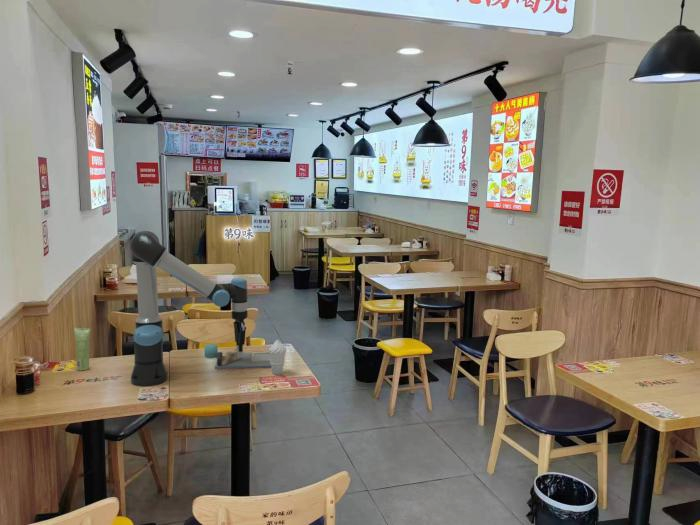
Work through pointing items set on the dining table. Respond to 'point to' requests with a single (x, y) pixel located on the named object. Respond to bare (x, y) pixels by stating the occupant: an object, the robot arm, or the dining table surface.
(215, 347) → the teal egg shape
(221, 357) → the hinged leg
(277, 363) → the soft serve ice cream cone
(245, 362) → the jig board
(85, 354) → the tube
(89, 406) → the dining table surface
